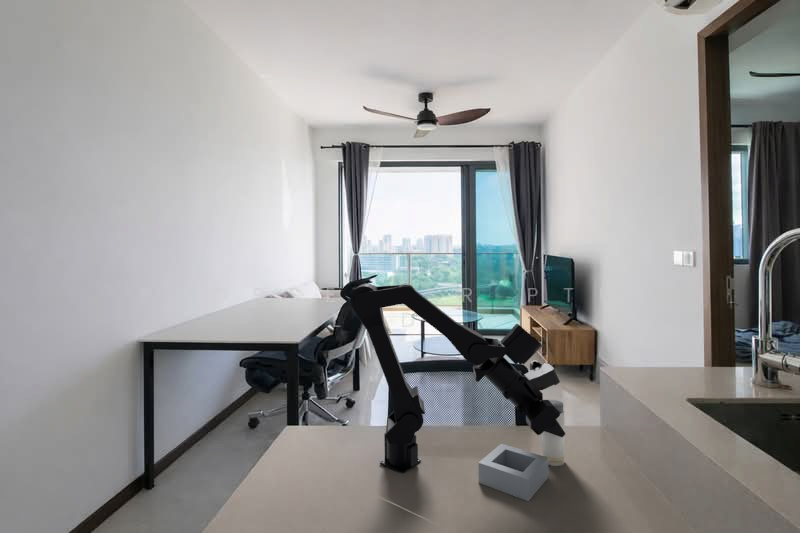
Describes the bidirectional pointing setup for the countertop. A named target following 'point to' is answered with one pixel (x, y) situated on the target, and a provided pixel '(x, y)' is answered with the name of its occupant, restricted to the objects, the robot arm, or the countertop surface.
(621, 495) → the countertop surface
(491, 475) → the socket block
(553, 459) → the white plastic bottle
